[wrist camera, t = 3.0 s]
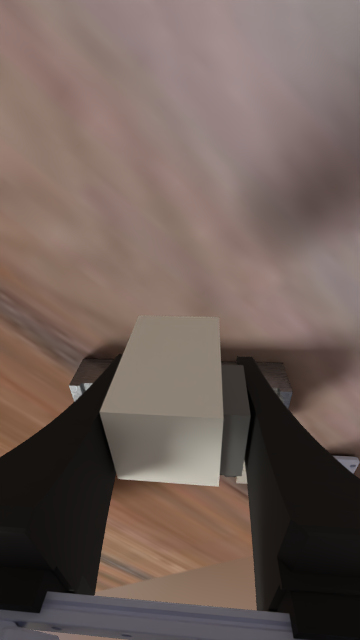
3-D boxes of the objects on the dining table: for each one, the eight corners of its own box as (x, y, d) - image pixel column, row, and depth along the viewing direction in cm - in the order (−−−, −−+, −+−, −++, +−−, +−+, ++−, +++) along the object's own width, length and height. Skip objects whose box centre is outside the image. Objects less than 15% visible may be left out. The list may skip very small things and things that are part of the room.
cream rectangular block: (138, 315, 13) (99, 411, 8) (237, 317, 12) (252, 419, 8) (146, 374, 15) (117, 479, 10) (232, 377, 14) (241, 488, 10)
